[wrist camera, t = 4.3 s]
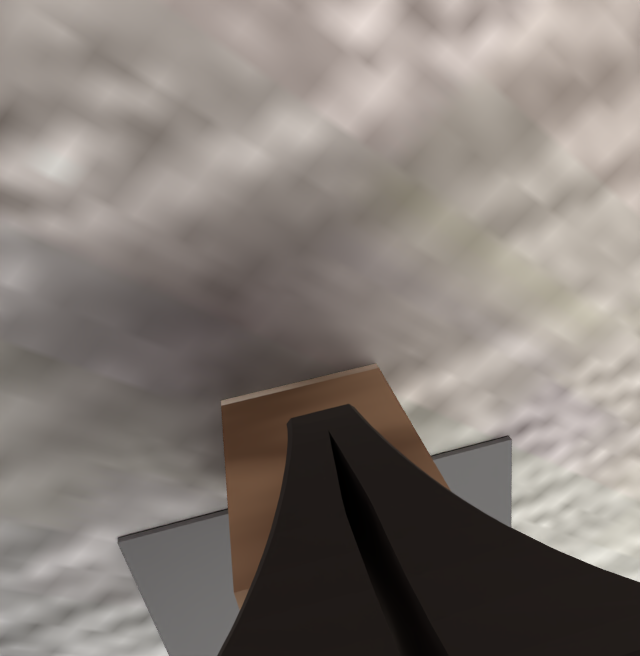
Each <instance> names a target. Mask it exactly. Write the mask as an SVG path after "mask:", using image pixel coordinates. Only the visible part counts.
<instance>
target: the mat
mask: <svg viewBox="0 0 640 656" xmlns="http://www.w3.org/2000/svg"><path fill="white" fill-rule="evenodd" d="M431 458H432V459H433V461H434V463H435V464H436V466H437V468H438V470H439V471H440V473H441V475H442V476H443V478H444V480H445V482H446V483H447V485H448V487H449V488H450V490H451V492H453V493H454V494H456V495H457V496H459V497H460V498H462V499H463V500H465V501H466V502H468V503H470V504H471V505H473V506H474V507H476V508H478V509H479V510H481V511H482V512H484V513H486V514H488V515H489V516H491V517H493V518H495V519H496V520H498V521H500V522H502V523H503V524H505V525H507V526H509V527H511V481H512V439H511V438H510V437H509V436H508V437H504V438H500V439H496V440H492V441H489V442H485V443H481V444H477V445H473V446H470V447H466V448H462V449H458V450H454V451H450V452H447V453H443V454H439V455H435V456H431ZM118 545H119V547H120V549H121V552H122V554H123V556H124V558H125V560H126V562H127V565H128V567H129V569H130V571H131V573H132V576H133V578H134V580H135V582H136V584H137V586H138V589H139V591H140V593H141V595H142V597H143V600H144V602H145V604H146V606H147V608H148V610H149V613H150V615H151V617H152V619H153V621H154V624H155V626H156V628H157V630H158V632H159V634H160V637H161V639H162V641H163V643H164V645H165V648H166V650H167V652H168V654H169V656H217V655H218V653H219V651H220V649H221V647H222V646H223V644H224V642H225V640H226V638H227V636H228V634H229V632H230V630H231V628H232V626H233V624H234V622H235V620H236V618H237V616H238V614H239V611H240V610H239V607H238V604H237V601H236V598H235V595H234V589H233V574H232V559H231V544H230V530H229V515H228V510H224V511H220V512H217V513H213V514H209V515H205V516H201V517H197V518H194V519H190V520H186V521H182V522H178V523H174V524H171V525H167V526H163V527H159V528H155V529H151V530H148V531H144V532H140V533H136V534H132V535H128V536H125V537H121V538H118Z"/></svg>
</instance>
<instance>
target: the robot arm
mask: <svg viewBox="0 0 640 656" xmlns="http://www.w3.org/2000/svg"><path fill="white" fill-rule="evenodd" d="M287 432H288V443H287V455H286V463H285V469H284V475H283V481H282V486H281V491H280V496H279V500H278V504H277V508H276V512H275V515H274V519H273V523H272V527H271V530H270V533H269V537H268V540H267V543H266V546H265V549H264V552H263V555H262V557H261V560H260V563H259V566H258V568H257V571H256V574H255V576H254V579H253V581H252V583H251V586H250V588H249V591H248V593H247V595H246V598H245V600H244V603H243V605H242V607H241V609H240V611H239V614H238V616H237V618H236V620H235V622H234V624H233V626H232V628H231V630H230V632H229V634H228V636H227V638H226V640H225V642H224V644H223V646H222V647H221V649H220V651H219V653H218V655H217V656H640V582H637V581H634V580H632V579H629V578H626V577H623V576H620V575H617V574H614V573H612V572H609V571H606V570H603V569H601V568H598V567H596V566H593V565H591V564H588V563H586V562H584V561H581V560H579V559H576V558H574V557H572V556H569V555H567V554H565V553H562V552H560V551H558V550H555V549H553V548H551V547H549V546H547V545H545V544H543V543H541V542H539V541H537V540H535V539H533V538H531V537H529V536H527V535H525V534H523V533H521V532H519V531H517V530H515V529H513V528H511V527H509V526H507V525H505V524H503V523H502V522H500V521H498V520H496V519H495V518H493V517H491V516H489V515H488V514H486V513H484V512H482V511H481V510H479V509H478V508H476V507H474V506H473V505H471V504H470V503H468V502H466V501H465V500H463V499H462V498H460V497H459V496H457V495H456V494H454V493H453V492H451V491H450V490H449V489H447V488H446V487H444V486H443V485H441V484H440V483H439V482H437V481H436V480H435V479H433V478H432V477H431V476H429V475H428V474H427V473H425V472H424V471H423V470H421V469H420V468H419V467H418V466H416V465H415V464H414V463H413V462H411V461H410V460H409V459H408V458H407V457H406V456H404V455H403V454H402V453H401V452H400V451H399V450H397V449H396V448H395V447H394V446H393V445H392V444H390V443H389V442H388V441H387V440H386V439H385V438H384V437H383V436H382V435H381V434H380V433H379V432H378V431H377V430H376V429H374V428H373V427H372V426H371V425H370V423H369V422H368V421H367V420H366V419H365V418H364V417H363V416H362V415H361V414H360V413H359V412H358V411H357V409H356V408H355V407H353V406H352V405H350V404H345V405H341V406H337V407H333V408H329V409H325V410H321V411H317V412H313V413H309V414H305V415H301V416H297V417H293V418H291V419H290V420H289V421H288V423H287Z"/></svg>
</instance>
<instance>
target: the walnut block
mask: <svg viewBox="0 0 640 656" xmlns="http://www.w3.org/2000/svg"><path fill="white" fill-rule="evenodd" d="M345 404H350V405H352V406H353V407H355V408H356V409H357V411H358V412H359V413H360V414H361V415H362V416H363V417H364V418H365V419H366V420H367V421H368V422H369V423H370V425H371V426H372V427H373V428H374V429H376V430H377V431H378V432H379V433H380V434H381V435H382V436H383V437H384V438H385V439H386V440H387V441H388V442H389V443H390V444H392V445H393V446H394V447H395V448H396V449H397V450H399V451H400V452H401V453H402V454H403V455H404V456H406V457H407V458H408V459H409V460H410V461H411V462H413V463H414V464H415V465H416V466H418V467H419V468H420V469H421V470H423V471H424V472H425V473H427V474H428V475H429V476H431V477H432V478H433V479H435V480H436V481H437V482H439V483H440V484H441V485H443V486H444V487H446V488H447V489H449V490H450V488H449V487H448V485H447V483H446V482H445V480H444V478H443V476H442V475H441V473H440V471H439V470H438V468H437V466H436V464H435V463H434V461H433V459H432V458H431V456H430V454H429V453H428V451H427V449H426V447H425V446H424V444H423V442H422V441H421V439H420V437H419V435H418V434H417V432H416V430H415V429H414V427H413V425H412V424H411V422H410V420H409V418H408V417H407V415H406V413H405V412H404V410H403V408H402V406H401V405H400V403H399V401H398V400H397V398H396V396H395V395H394V393H393V391H392V389H391V388H390V386H389V384H388V383H387V381H386V379H385V378H384V376H383V374H382V372H381V371H380V369H379V367H378V366H377V364H372V365H368V366H363V367H359V368H355V369H351V370H347V371H342V372H338V373H334V374H330V375H326V376H321V377H317V378H313V379H309V380H305V381H301V382H296V383H292V384H288V385H284V386H280V387H275V388H271V389H267V390H263V391H259V392H255V393H250V394H246V395H242V396H238V397H234V398H229V399H225V400H221V411H222V426H223V441H224V456H225V470H226V485H227V500H228V515H229V530H230V544H231V559H232V574H233V589H234V595H235V598H236V601H237V604H238V607H239V610H240V609H241V607H242V605H243V603H244V600H245V598H246V595H247V593H248V591H249V588H250V586H251V583H252V581H253V579H254V576H255V574H256V571H257V568H258V566H259V563H260V560H261V557H262V555H263V552H264V549H265V546H266V543H267V540H268V537H269V533H270V530H271V527H272V523H273V519H274V515H275V512H276V508H277V504H278V500H279V496H280V491H281V486H282V481H283V475H284V469H285V463H286V455H287V443H288V432H287V423H288V421H289V420H290V419H291V418H293V417H297V416H301V415H305V414H309V413H313V412H317V411H321V410H325V409H329V408H333V407H337V406H341V405H345ZM450 491H451V490H450Z"/></svg>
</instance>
